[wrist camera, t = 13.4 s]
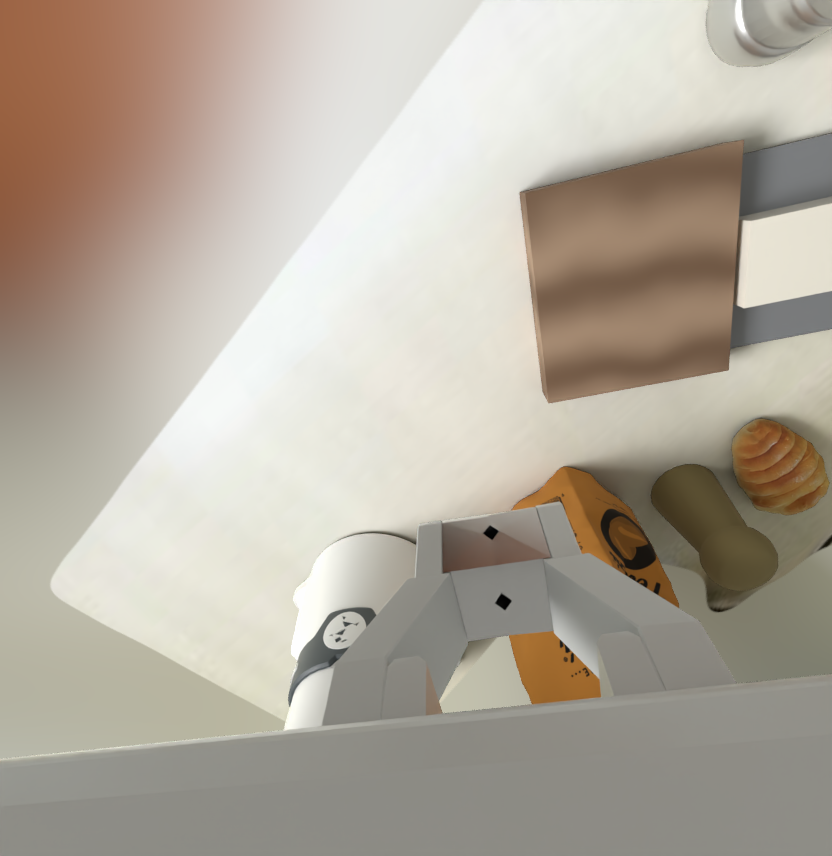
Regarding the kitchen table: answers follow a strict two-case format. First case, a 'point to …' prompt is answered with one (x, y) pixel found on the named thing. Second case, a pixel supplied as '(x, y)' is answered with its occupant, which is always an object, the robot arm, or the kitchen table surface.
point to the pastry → (778, 468)
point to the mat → (770, 189)
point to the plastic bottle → (764, 28)
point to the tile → (784, 253)
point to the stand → (634, 272)
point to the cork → (714, 528)
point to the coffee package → (608, 541)
